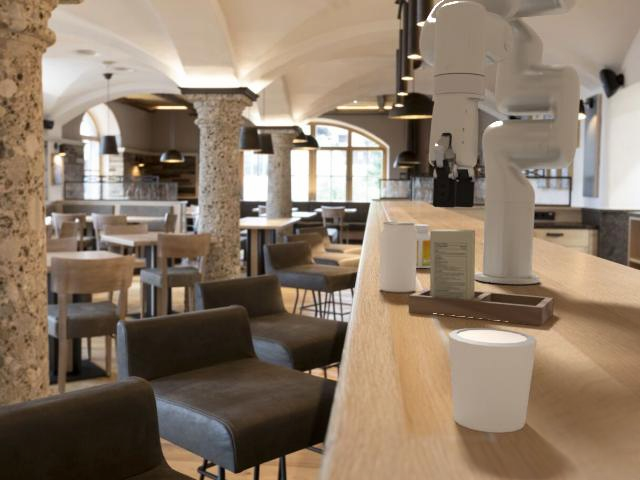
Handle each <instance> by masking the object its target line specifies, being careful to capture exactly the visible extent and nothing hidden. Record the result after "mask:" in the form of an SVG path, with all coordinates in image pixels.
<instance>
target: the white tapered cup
mask: <svg viewBox="0 0 640 480" xmlns="http://www.w3.org/2000/svg"><path fill="white" fill-rule="evenodd" d="M448 342H449V345H448V347H449V359H450V375H451V376H450V377H451V378H450V379H451V392H452V393H451V394H452V411H453V419H454V422H456V423H457V424H458V425H460V426H462V427H464V428H467V429H469V430H470V429H471V430H474V431H479V432H483V433H484V432H485V433H498V434H500V433H501V434H502V433H511V432H512V433H513V432H515V431H519V430H521V429H523V428H524V426H525V425H526V417H527V413H528V411H527V410H528V403H529V396H530V391H531V390H530V389H531V383H532V377H533V370H534V369H533V368H534V361H535V354H536V347H537V339H536V338H535V337H534V336H532V335H530V334H528V333H523V332H520V331H514V330H510V329H502V328H495V327H494V328H492V327H491V328H490V327H489V328H488V327H475V328H474V327H472V328H471V327H470V328H469V327H468V328H460V329H455V330H452V331H451V332H449V333H448Z"/></svg>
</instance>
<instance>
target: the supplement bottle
mask: <svg viewBox="0 0 640 480" xmlns="http://www.w3.org/2000/svg"><path fill="white" fill-rule="evenodd" d="M415 228H416V231H417V260H416V268H427V269H430V233H429V232H430V225H429V224H424V223H423V224H418V223H417V224H416V223H415Z"/></svg>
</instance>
